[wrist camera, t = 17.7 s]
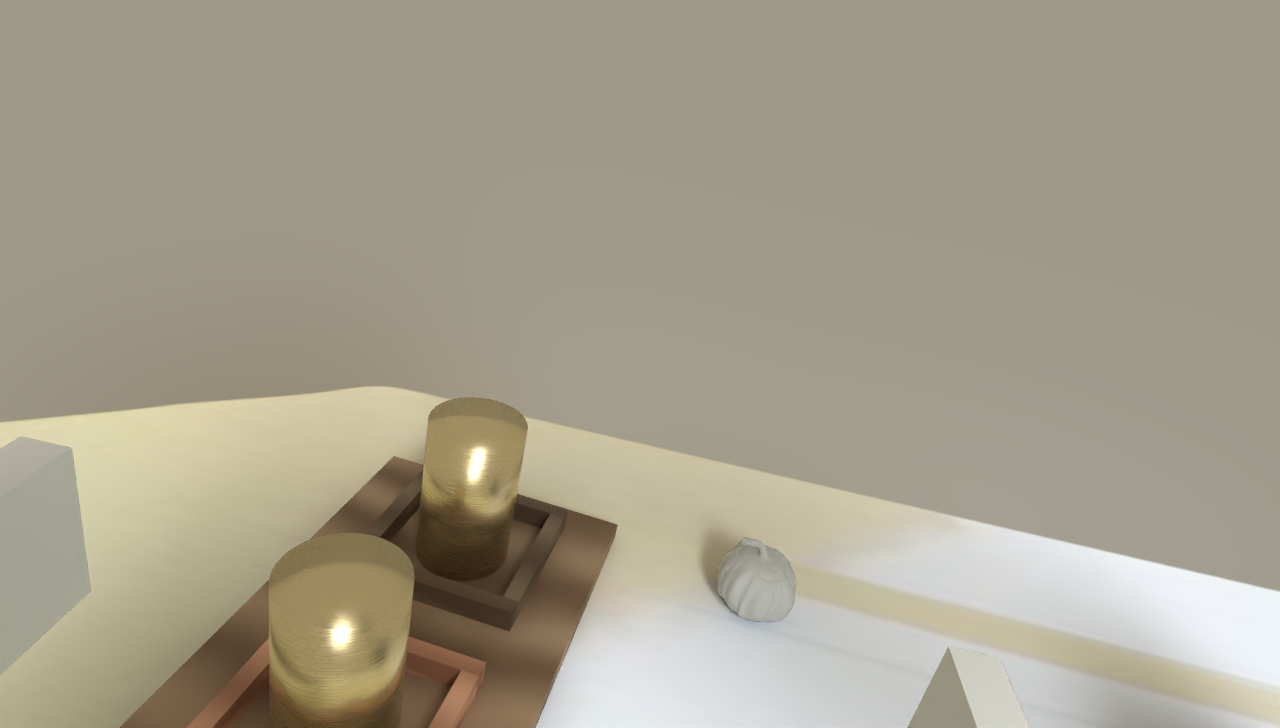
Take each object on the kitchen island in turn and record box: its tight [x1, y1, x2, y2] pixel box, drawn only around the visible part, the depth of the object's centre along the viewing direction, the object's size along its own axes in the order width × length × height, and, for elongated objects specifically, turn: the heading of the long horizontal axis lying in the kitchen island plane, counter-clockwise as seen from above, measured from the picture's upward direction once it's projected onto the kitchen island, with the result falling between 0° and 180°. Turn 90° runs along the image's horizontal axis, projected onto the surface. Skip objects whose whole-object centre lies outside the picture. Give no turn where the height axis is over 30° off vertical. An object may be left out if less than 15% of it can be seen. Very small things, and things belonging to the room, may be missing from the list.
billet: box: [416, 398, 528, 581], centre depth 50 cm, size 6×6×10 cm
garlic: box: [717, 538, 796, 622], centre depth 54 cm, size 6×5×5 cm
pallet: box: [120, 456, 617, 728], centre depth 45 cm, size 30×18×3 cm, turn 167°
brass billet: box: [269, 533, 414, 728], centre depth 37 cm, size 6×6×10 cm
